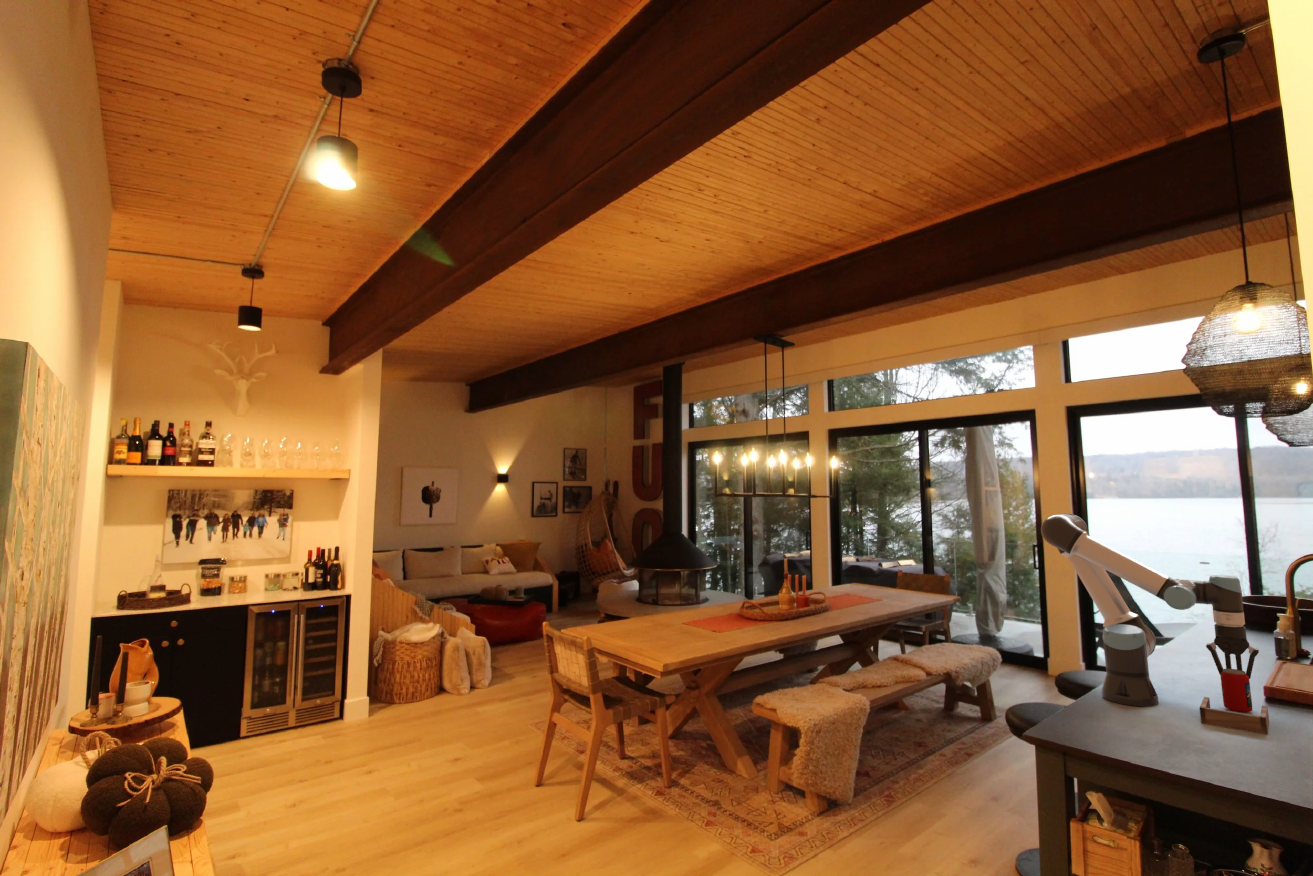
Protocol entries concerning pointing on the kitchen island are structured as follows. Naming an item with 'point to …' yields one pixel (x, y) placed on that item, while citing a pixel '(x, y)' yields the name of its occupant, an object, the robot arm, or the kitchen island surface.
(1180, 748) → the kitchen island surface
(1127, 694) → the robot arm
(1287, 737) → the kitchen island surface
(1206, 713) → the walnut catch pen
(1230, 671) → the beverage can
